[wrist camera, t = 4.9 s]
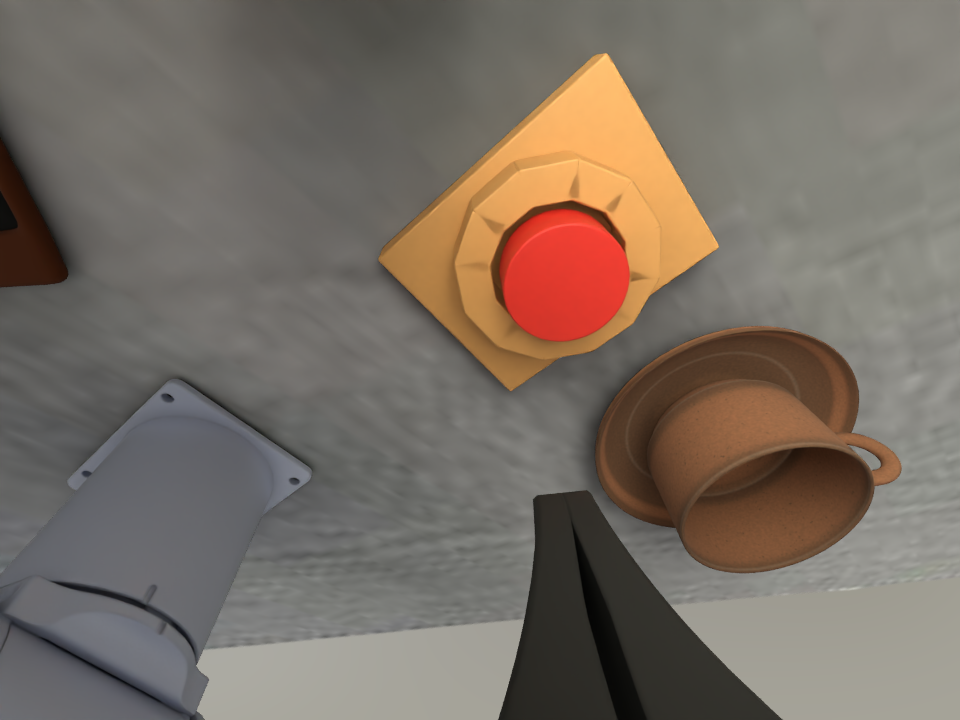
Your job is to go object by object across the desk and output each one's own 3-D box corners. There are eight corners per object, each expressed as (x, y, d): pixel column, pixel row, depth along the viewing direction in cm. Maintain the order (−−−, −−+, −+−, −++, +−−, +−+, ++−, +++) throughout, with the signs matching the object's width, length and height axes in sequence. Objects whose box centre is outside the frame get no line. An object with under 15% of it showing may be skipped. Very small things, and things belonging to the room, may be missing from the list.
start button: (544, 338, 18) (551, 363, 16) (475, 261, 16) (477, 281, 15) (636, 272, 17) (653, 292, 15) (572, 181, 15) (584, 194, 13)
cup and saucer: (812, 261, 20) (943, 331, 14) (842, 449, 25) (943, 549, 20) (548, 380, 22) (576, 476, 17) (630, 526, 28) (669, 632, 23)
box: (507, 375, 22) (514, 418, 19) (381, 248, 19) (368, 278, 16) (704, 236, 19) (745, 264, 16) (596, 53, 15) (625, 49, 13)
